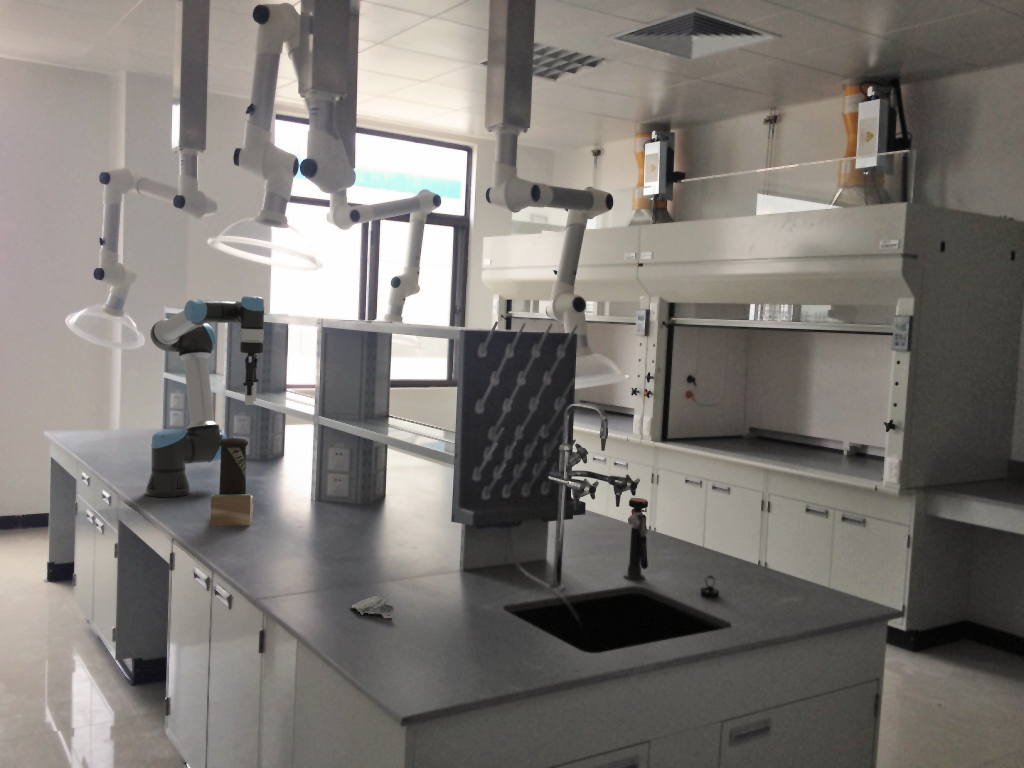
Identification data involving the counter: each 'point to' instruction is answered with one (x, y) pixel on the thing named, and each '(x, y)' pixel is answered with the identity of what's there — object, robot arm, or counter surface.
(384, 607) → the stone
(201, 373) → the robot arm
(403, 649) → the counter surface
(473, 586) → the counter surface
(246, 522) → the stand
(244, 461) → the container
